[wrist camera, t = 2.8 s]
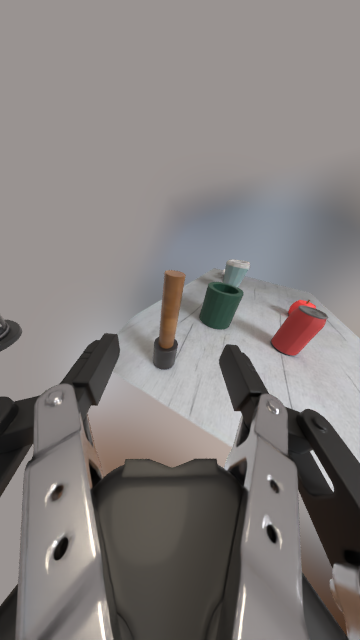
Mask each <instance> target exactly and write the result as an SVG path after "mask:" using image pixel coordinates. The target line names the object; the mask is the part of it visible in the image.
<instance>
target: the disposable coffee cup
mask: <svg viewBox="0 0 360 640" xmlns="http://www.w3.org/2000/svg"><path fill="white" fill-rule="evenodd" d="M249 268H250V262H247V261H241V260H229V261H227V263H226V269H225V274H224V280H223V283H226V284H230V285H233V286H235V287H237V288H238V287H239V285H240V283H241V281H242V280H243V278H244V276H245V274H246V273H247V271H248V269H249Z"/></svg>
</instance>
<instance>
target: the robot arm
mask: <svg viewBox="0 0 360 640" xmlns="http://www.w3.org/2000/svg"><path fill="white" fill-rule="evenodd" d="M9 332H10V326H9V325H8V324H7V323H6V322H5V321H4V319H3V318H2V317H1V315H0V340H2V339H3V338H5V337H6V336H7V335H8V334H9ZM119 353H120V347H119V341H118V335H117V334H108V333H106V334H104V335H103V336H102V338H101V339H100V340H95V341H94V342H92V343H91V344H90V345H88V347H87V348H86V349H85V351H84V352H83V354H82V355H81V356H80V358H79V359H78V360H77V361H76V363H75V364H74V365H73V367H72V368H71V370H70V371H69V372H68V374H67V375H66V377H65V378H64V379H63V381H62V382H61V383H60V384H59V385H56V386H54V387H51V388H50V389H48V390H47V391H45V392H44V393H43V394H42V395H40V396H37V397H32V398H28V399H24V400H19V401H15V402H14V401H12V400H11V399H10V398H9V397H0V496H1V495H2V493H3V492H4V490H5V488H6V487H7V485H8V484H9V482H10V480H11V479H12V477H13V475H14V474H15V472H16V470H17V468H18V467H19V465H20V464H21V462H22V460H23V459H24V457H25V455H26V454H27V452H28V451H29V449H30V447H31V446H32V444H34V452H33V457H32V459H31V460H30V461H29V462H28V463H27V465H26V468H25V473H24V484H23V503H22V522H21V543H20V560H19V579H18V584H17V585H16V587H15V588H14V589H13V590H12V592H11V593H10V594H9V596H8V597H7V598H6V599H5V601H4V602H3V603H2V604H1V606H0V640H360V463H359V462H358V460H357V459H356V458H355V456H354V455H353V454H352V452H351V451H350V450H349V448H348V447H347V446H346V444H345V443H344V442H343V440H342V439H341V438H340V436H339V435H338V434H337V432H336V431H335V430H334V428H333V427H332V425H331V424H330V423H329V422H328V421H327V420H326V419H325V418H324V417H323V416H322V415H320V414H319V413H317V412H316V411H313V410H310V409H305V410H304V411H302V412H301V413H300V412H298V411H295V410H292V409H290V408H287V407H285V406H284V405H283V404H282V403H281V401H280V400H278V399H277V398H276V397H274V396H272V395H270V394H269V393H268V391H267V389H266V388H265V386H264V384H263V382H262V380H261V379H260V377H259V375H258V373H257V372H256V370H255V368H254V366H253V364H252V363H251V361H250V359H249V358H248V357H247V356H246V355H245V354H244V353H241V351H240V349H239V347H238V346H237V345H228V344H227V345H226V346H225V348H224V350H223V352H222V354H221V356H220V359H219V364H220V368H221V371H222V374H223V377H224V380H225V383H226V387H227V390H228V393H229V396H230V399H231V402H232V405H233V408H234V411H241V413H242V416H241V419H240V423H239V426H238V430H237V433H236V437H235V441H234V444H233V447H232V450H231V452H230V454H229V455H228V458H227V460H226V463H225V466H224V468H223V467H221V466H219V465H218V464H217V460H216V459H194V460H191V461H189V462H186V463H184V464H181V465H179V466H176V467H173V468H171V467H168V466H165V465H163V464H161V463H158V462H155V461H153V460H150V459H126V460H125V464H124V465H123V466H120V467H118V468H116V469H114V470H113V471H111V472H110V473H108V474H107V475H106V476H105V477H104V476H103V472H102V468H101V464H100V460H99V457H98V454H97V451H96V448H95V444H94V440H93V436H92V432H91V427H90V423H89V419H88V414H87V412H88V410H89V408H90V406H91V405H98V403H99V401H100V399H101V396H102V394H103V392H104V390H105V387H106V385H107V383H108V380H109V378H110V376H111V374H112V371H113V369H114V367H115V364H116V362H117V360H118V357H119ZM311 450H314V452H315V454H316V455H317V457H318V459H319V460H320V462H321V464H322V466H323V467H324V469H325V471H326V473H327V474H328V476H329V478H330V479H331V481H332V484H333V486H334V492H333V491H332V490H331V488H330V487H329V485H328V483H327V481H326V480H325V478H324V476H323V474H322V473H321V471H320V469H319V467H318V465H317V464H316V462H315V460H314V458H313V456H312V455H311V453H310V451H311ZM298 490H299V492H300V494H301V497H302V499H303V502H304V504H305V506H306V509H307V511H308V513H309V515H310V518H311V520H312V522H313V525H314V527H315V529H316V531H317V534H318V536H319V538H320V541H321V543H322V545H323V547H324V550H325V552H326V554H327V557H328V559H329V561H330V564H331V566H332V568H333V571H332V573H333V574H332V575H333V579H331V580H330V590H331V594H332V596H333V599H334V601H335V602H336V604H337V606H338V608H339V609H340V610H341V611H342V612H343V615H344V618H345V622H346V628H347V636H346V634H345V633H344V631H343V630H342V629H341V627H340V626H339V624H338V623H337V621H336V620H335V619H334V617H333V616H332V614H331V613H330V611H329V610H328V608H327V607H326V606H325V604H324V603H323V601H322V600H321V598H320V597H319V596H318V594H317V593H316V591H315V590H314V589H313V587H312V586H311V584H310V583H309V581H308V580H307V578H306V577H305V576H304V574H303V573H302V570H301V549H300V548H301V547H300V526H299V525H300V524H299V502H298V501H299V500H298Z"/></svg>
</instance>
